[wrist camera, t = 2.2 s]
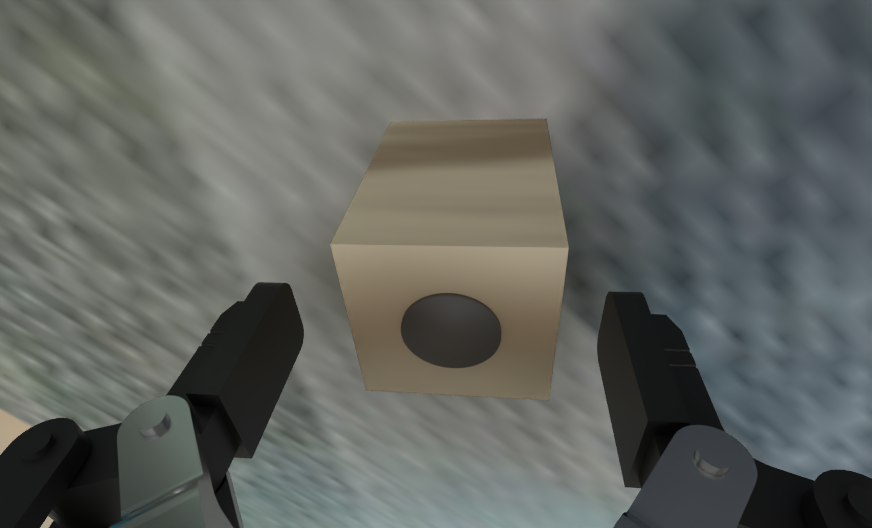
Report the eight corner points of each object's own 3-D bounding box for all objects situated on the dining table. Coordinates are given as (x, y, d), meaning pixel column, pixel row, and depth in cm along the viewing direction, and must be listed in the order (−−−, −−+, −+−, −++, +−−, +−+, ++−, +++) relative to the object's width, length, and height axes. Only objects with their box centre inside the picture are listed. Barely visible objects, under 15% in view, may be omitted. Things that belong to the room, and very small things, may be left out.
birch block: (391, 121, 16) (327, 248, 10) (545, 118, 15) (569, 252, 9) (406, 244, 19) (364, 394, 13) (535, 246, 18) (549, 405, 12)
